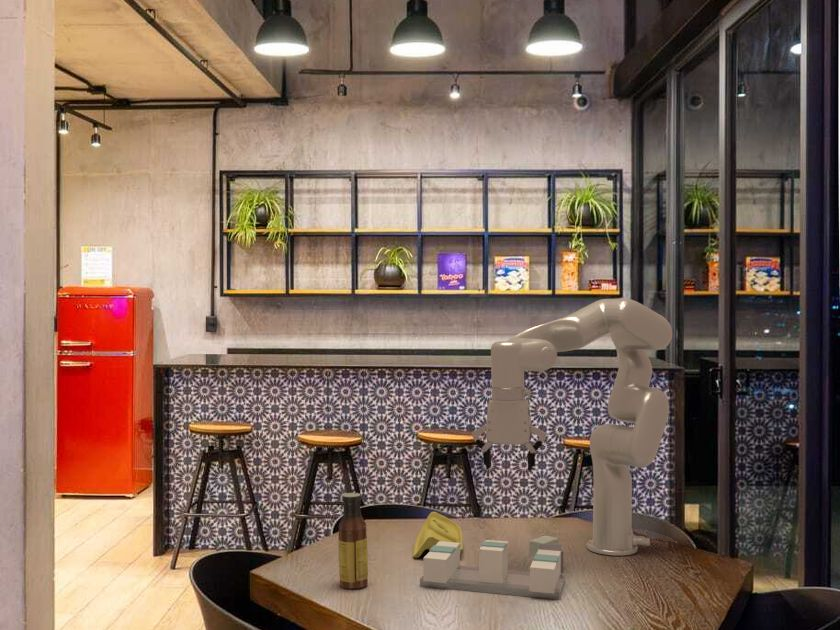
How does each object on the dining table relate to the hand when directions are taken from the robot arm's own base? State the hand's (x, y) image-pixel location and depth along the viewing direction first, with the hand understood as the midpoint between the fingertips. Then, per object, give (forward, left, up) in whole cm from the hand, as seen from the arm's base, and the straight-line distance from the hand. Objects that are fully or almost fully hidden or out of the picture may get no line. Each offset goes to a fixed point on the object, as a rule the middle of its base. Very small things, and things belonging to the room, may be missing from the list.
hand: (509, 468), depth 192 cm
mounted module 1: (+13, +10, -22) cm, 28 cm away
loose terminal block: (-6, -16, -24) cm, 30 cm away
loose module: (+2, +10, -22) cm, 24 cm away
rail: (+2, +10, -24) cm, 26 cm away
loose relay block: (-9, -5, -24) cm, 26 cm away
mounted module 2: (-10, +10, -22) cm, 26 cm away
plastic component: (+20, -13, -24) cm, 34 cm away
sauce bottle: (+31, +20, -24) cm, 44 cm away
